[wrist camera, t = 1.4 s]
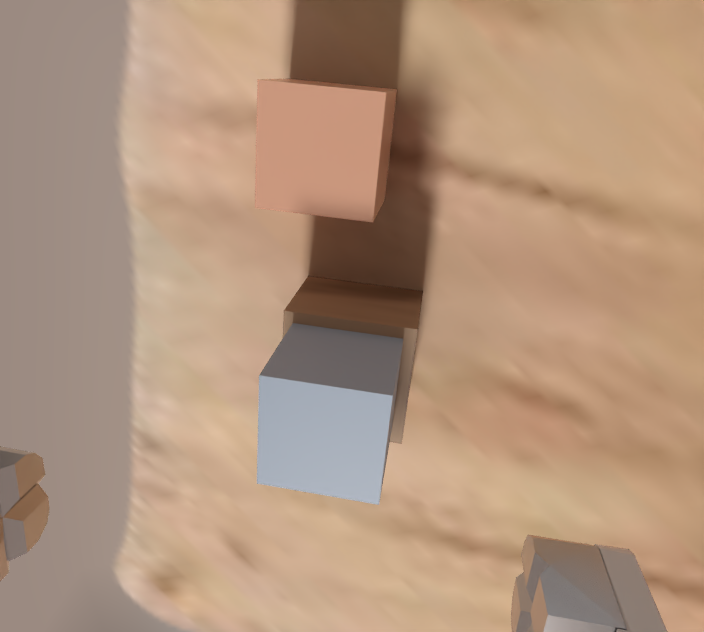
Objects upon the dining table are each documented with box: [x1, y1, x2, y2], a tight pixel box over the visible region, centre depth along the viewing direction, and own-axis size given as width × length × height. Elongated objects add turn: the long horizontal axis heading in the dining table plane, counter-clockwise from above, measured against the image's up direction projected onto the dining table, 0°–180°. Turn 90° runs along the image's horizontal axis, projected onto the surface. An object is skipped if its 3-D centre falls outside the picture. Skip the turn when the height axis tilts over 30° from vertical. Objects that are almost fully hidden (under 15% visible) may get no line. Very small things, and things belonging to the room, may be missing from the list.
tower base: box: [283, 276, 423, 444], centre depth 29 cm, size 6×6×5 cm
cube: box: [255, 79, 397, 222], centre depth 26 cm, size 5×5×5 cm
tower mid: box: [257, 323, 403, 505], centre depth 25 cm, size 5×5×5 cm
